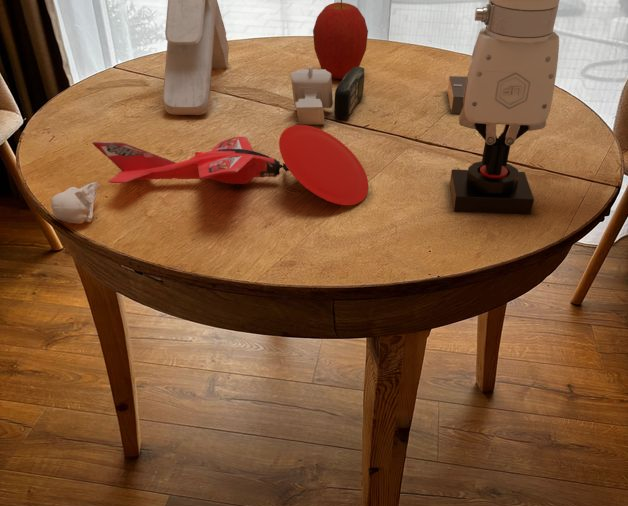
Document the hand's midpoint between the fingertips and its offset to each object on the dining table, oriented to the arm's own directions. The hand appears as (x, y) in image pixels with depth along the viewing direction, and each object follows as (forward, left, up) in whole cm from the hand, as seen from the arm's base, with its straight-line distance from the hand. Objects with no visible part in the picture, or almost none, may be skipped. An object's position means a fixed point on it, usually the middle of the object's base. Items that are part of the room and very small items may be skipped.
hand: (492, 169), depth 89 cm
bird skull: (+53, +8, -4) cm, 54 cm away
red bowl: (+22, 0, 0) cm, 22 cm away
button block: (0, 0, -4) cm, 4 cm away
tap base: (-3, -35, -4) cm, 35 cm away
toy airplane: (+40, 0, -4) cm, 41 cm away
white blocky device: (+26, -30, +1) cm, 40 cm away
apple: (+23, -47, -4) cm, 53 cm away
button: (0, 0, -2) cm, 2 cm away
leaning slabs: (+48, -39, -4) cm, 62 cm away
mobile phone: (+20, -33, -4) cm, 39 cm away
